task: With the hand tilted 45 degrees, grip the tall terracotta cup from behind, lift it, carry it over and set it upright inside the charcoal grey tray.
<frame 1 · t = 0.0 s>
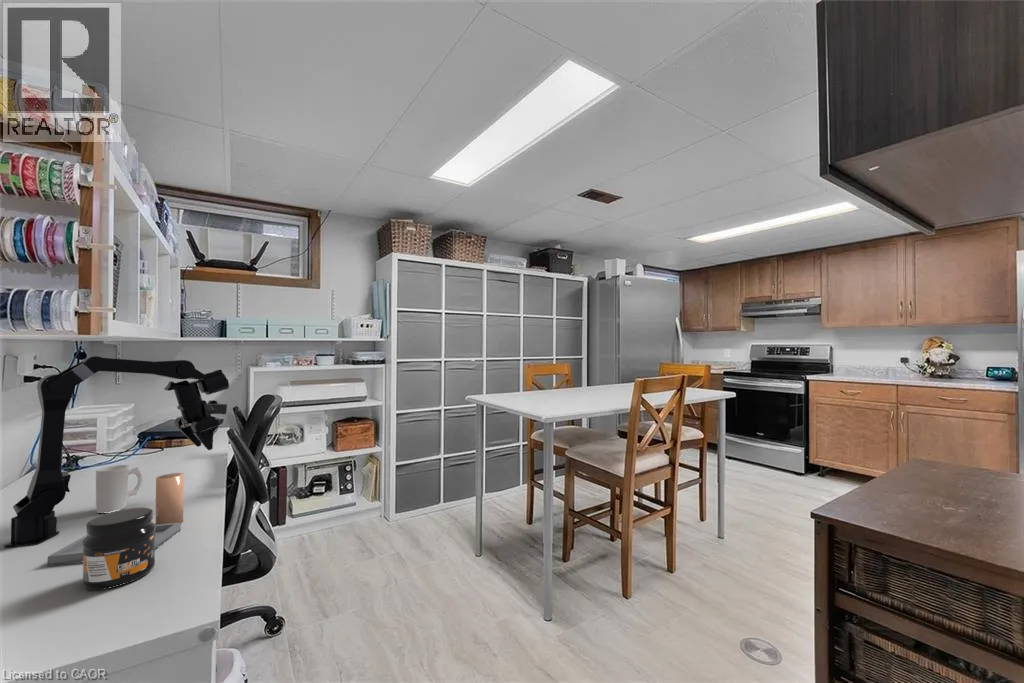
hand: (204, 447, 127), 15 cm above the table, tool pointing down, fingers open, 9 cm apart
supplement container: (120, 578, 82), on the table
mug: (119, 508, 120), on the table
charcoal tray: (120, 546, 95), on the table
terracotta cup: (169, 524, 107), on the table
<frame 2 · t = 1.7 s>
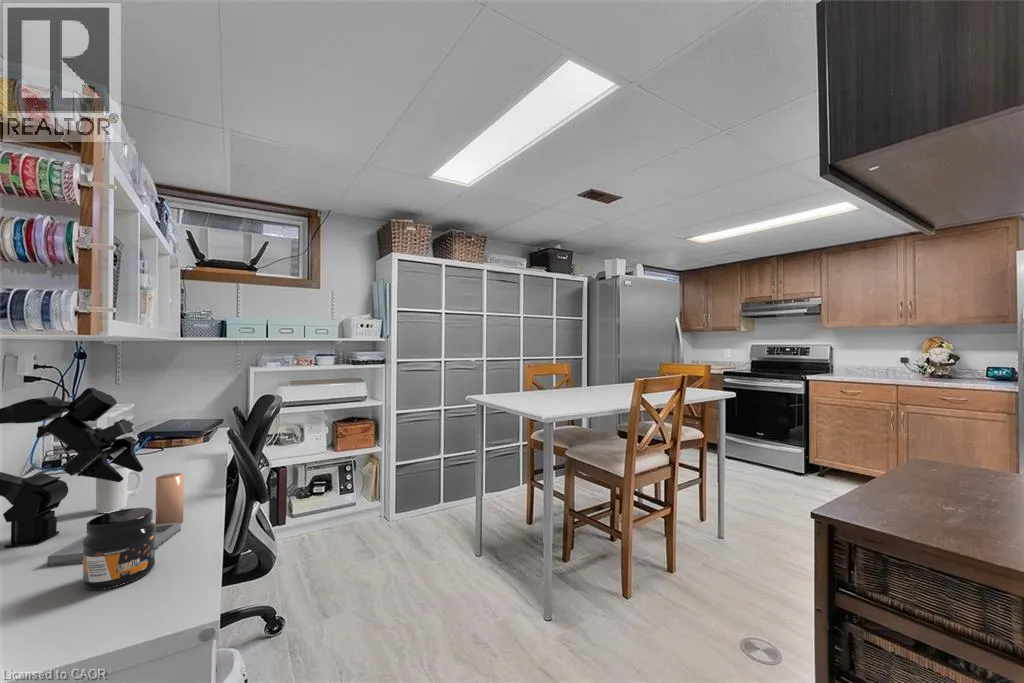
hand: (132, 475, 105), 13 cm above the table, tool tilted 45°, fingers open, 9 cm apart
nothing on the table moved.
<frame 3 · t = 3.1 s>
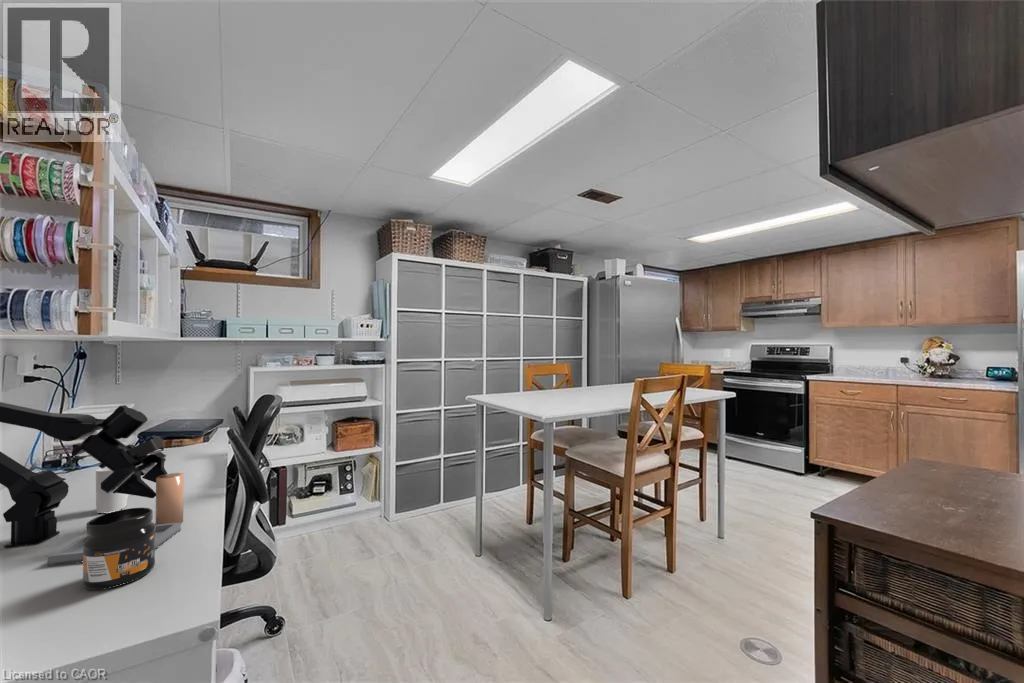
hand: (164, 490, 107), 9 cm above the table, tool tilted 45°, fingers open, 9 cm apart
nothing on the table moved.
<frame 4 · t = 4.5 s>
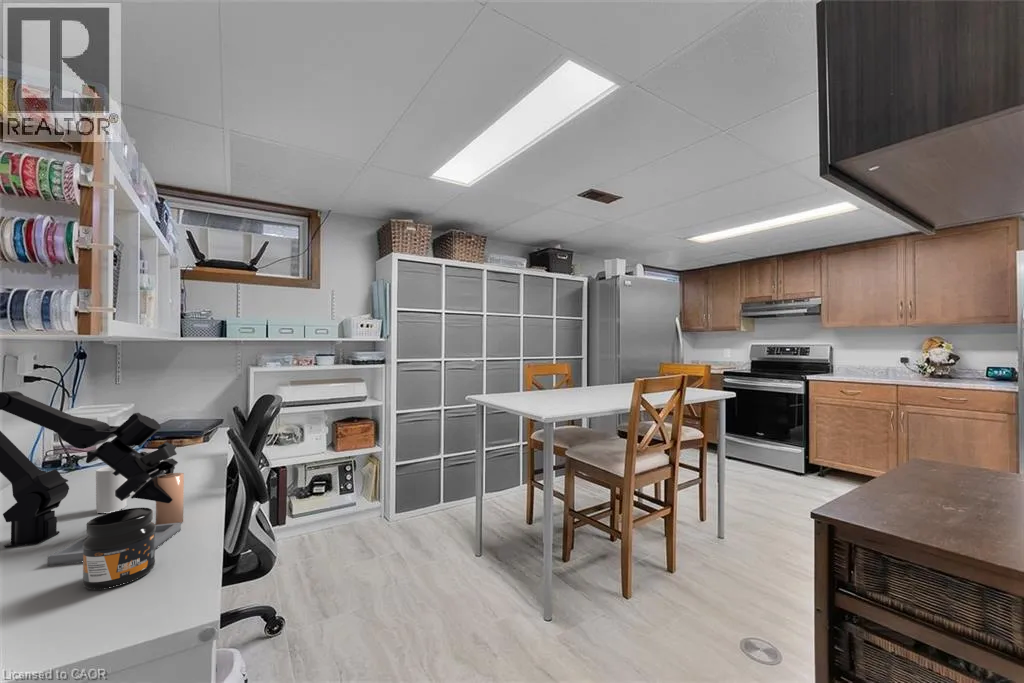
hand: (176, 497, 108), 7 cm above the table, tool tilted 45°, fingers closed on terracotta cup, 6 cm apart
terracotta cup: (169, 524, 107), on the table, touching gripper
everything else where it was.
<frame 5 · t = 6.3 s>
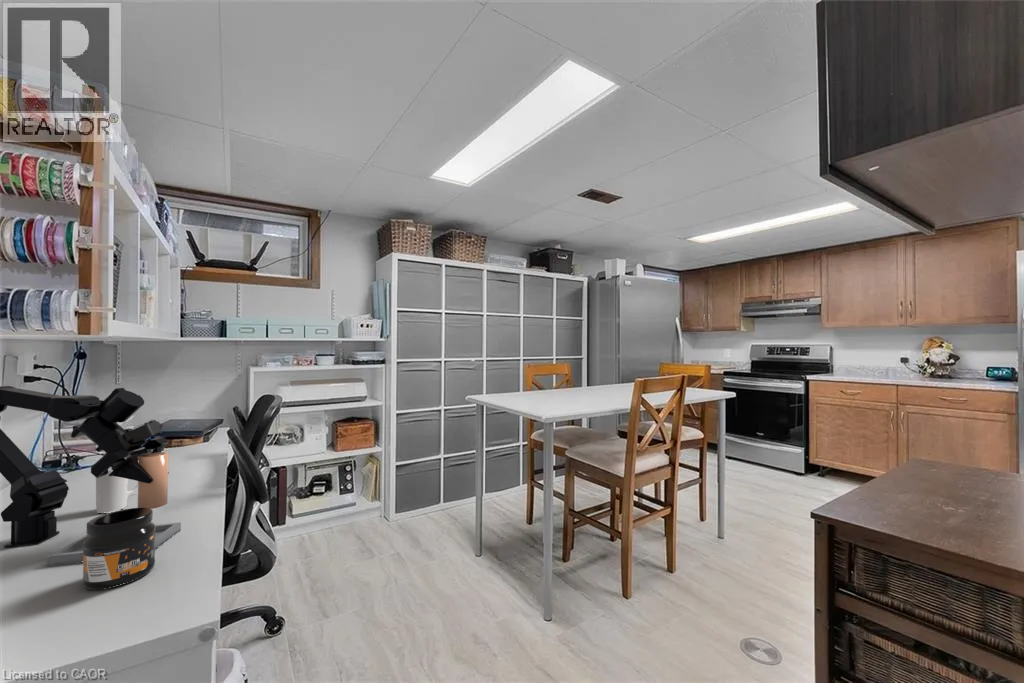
hand: (159, 478, 103), 13 cm above the table, tool tilted 45°, fingers closed on terracotta cup, 6 cm apart
terracotta cup: (152, 505, 102), point 7 cm above the table, touching gripper
everything else where it was.
when the fingers open (9 cm above the table, at t = 8.4 s): terracotta cup drops 1 cm, resting on charcoal tray.
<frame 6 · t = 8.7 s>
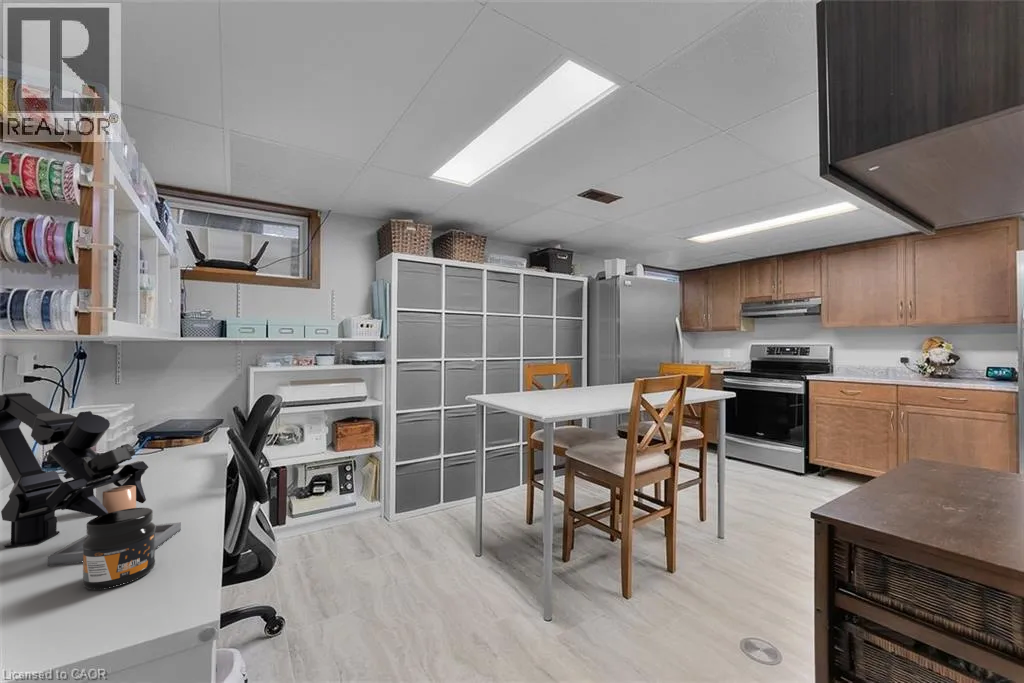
hand: (126, 508, 95), 9 cm above the table, tool tilted 45°, fingers open, 9 cm apart
terracotta cup: (119, 543, 95), point 1 cm above the table, touching charcoal tray
everything else where it was.
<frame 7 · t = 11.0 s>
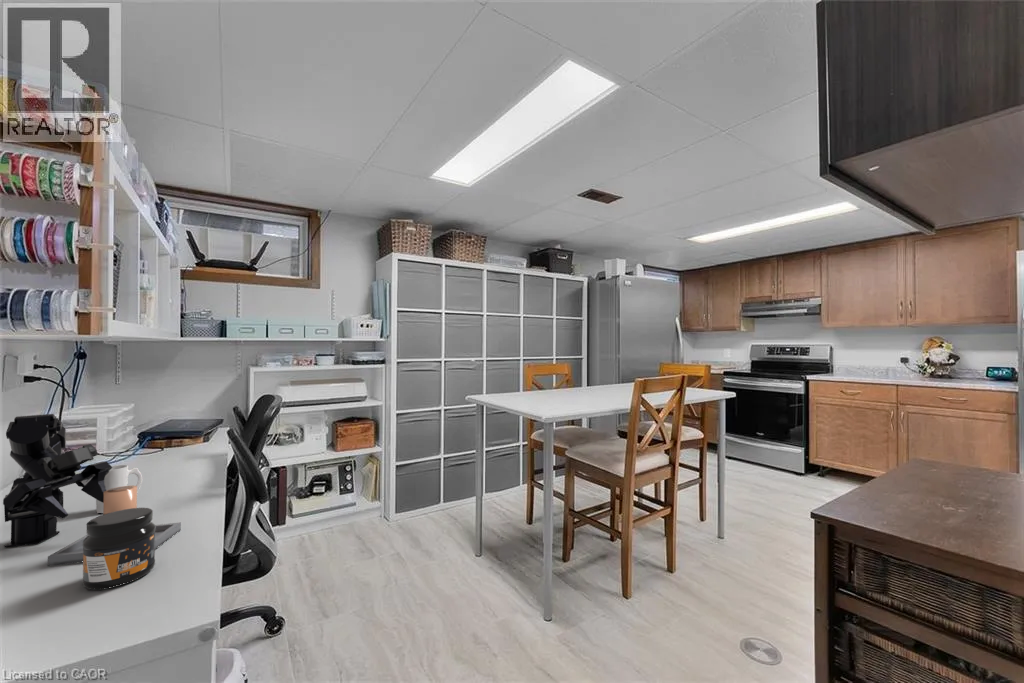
hand: (87, 508, 95), 9 cm above the table, tool tilted 45°, fingers open, 9 cm apart
nothing on the table moved.
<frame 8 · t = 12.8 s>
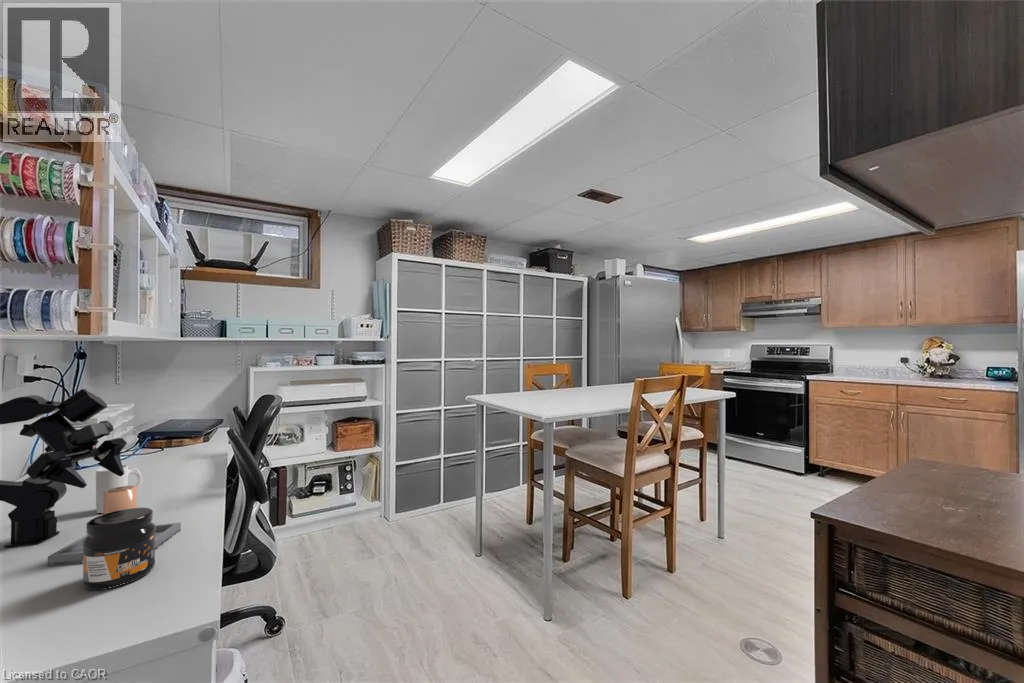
hand: (104, 480, 101), 14 cm above the table, tool tilted 45°, fingers open, 9 cm apart
nothing on the table moved.
at the end: terracotta cup inside the target area on the charcoal tray (0.1 cm from its centre), point 0.6 cm above the charcoal tray's base; terracotta cup tilted 0°; the gripper is holding nothing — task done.
